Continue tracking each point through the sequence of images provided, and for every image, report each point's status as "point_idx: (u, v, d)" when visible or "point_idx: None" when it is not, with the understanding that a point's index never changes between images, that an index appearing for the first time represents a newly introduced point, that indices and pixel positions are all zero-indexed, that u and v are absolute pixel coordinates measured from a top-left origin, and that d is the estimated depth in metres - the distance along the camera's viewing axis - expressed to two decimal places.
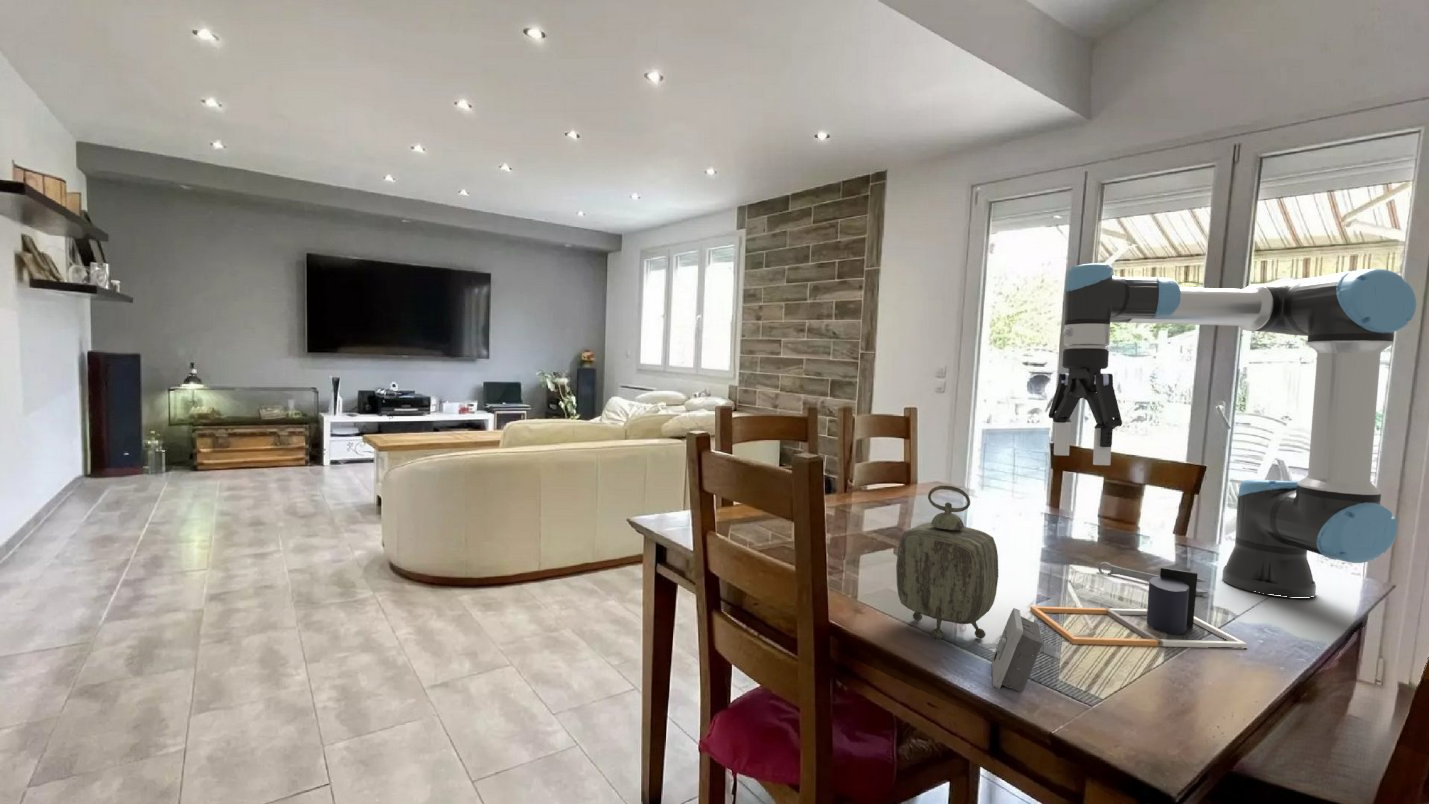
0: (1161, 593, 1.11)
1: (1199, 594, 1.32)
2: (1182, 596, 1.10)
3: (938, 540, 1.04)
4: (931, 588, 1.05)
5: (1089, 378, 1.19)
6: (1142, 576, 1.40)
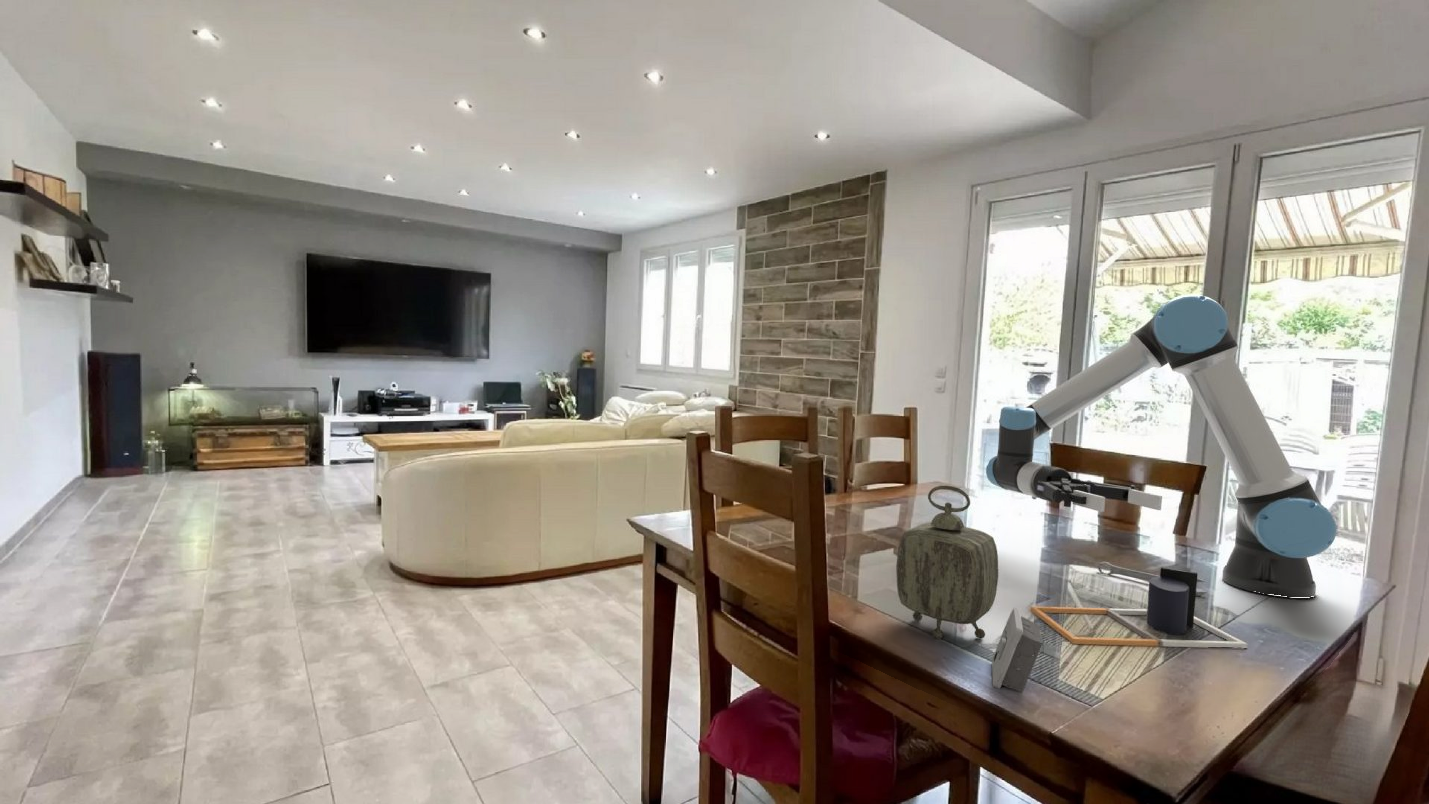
0: (1161, 593, 1.11)
1: (1198, 594, 1.32)
2: (1182, 596, 1.10)
3: (938, 540, 1.04)
4: (931, 588, 1.05)
5: None
6: (1142, 576, 1.39)
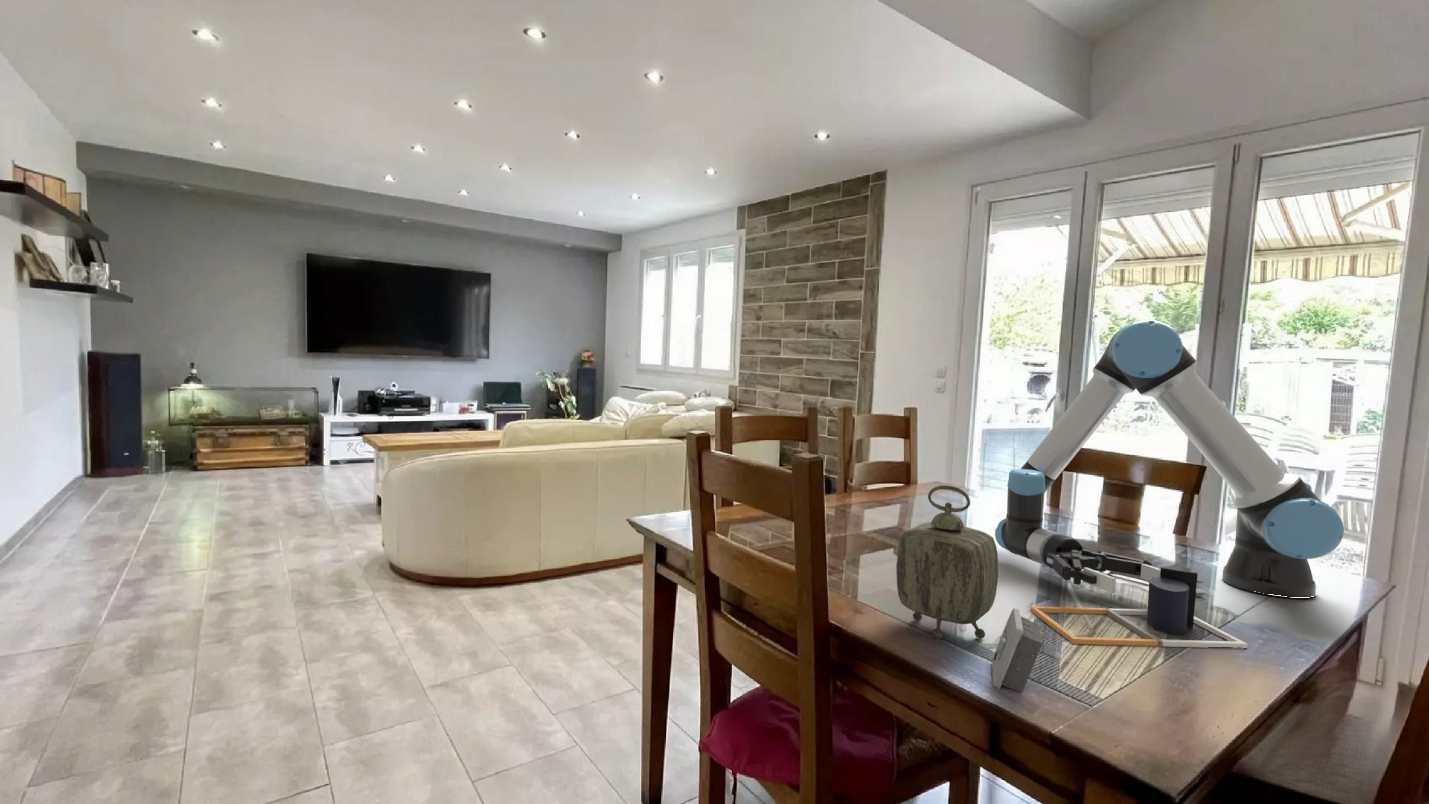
0: (1161, 593, 1.11)
1: (1197, 595, 1.31)
2: (1182, 596, 1.10)
3: (938, 540, 1.04)
4: (931, 588, 1.05)
5: None
6: None
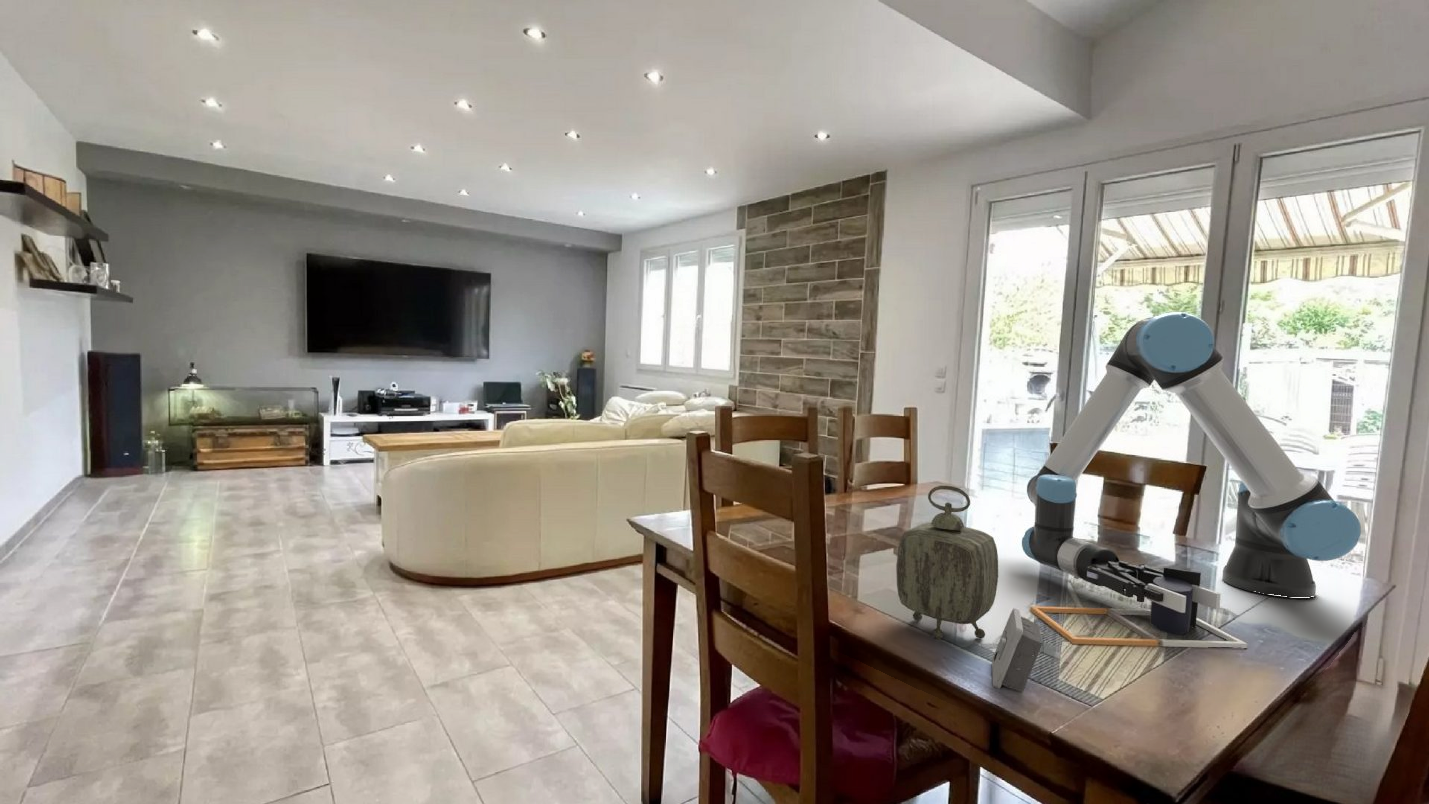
0: None
1: None
2: (1186, 596, 1.10)
3: (938, 540, 1.04)
4: (931, 588, 1.05)
5: None
6: None
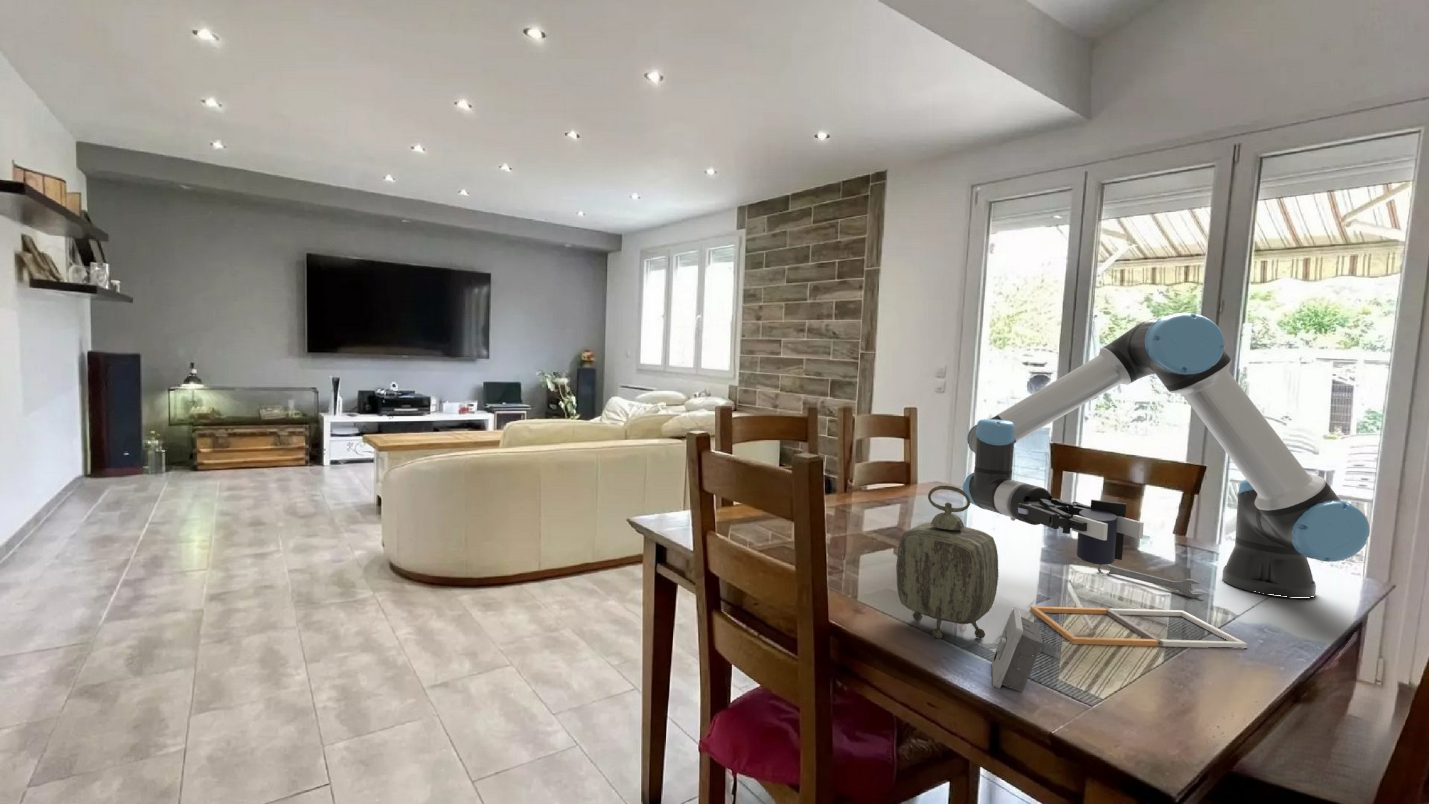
0: None
1: (1194, 596, 1.30)
2: (1110, 525, 1.10)
3: (938, 540, 1.04)
4: (931, 588, 1.05)
5: None
6: (1140, 577, 1.39)
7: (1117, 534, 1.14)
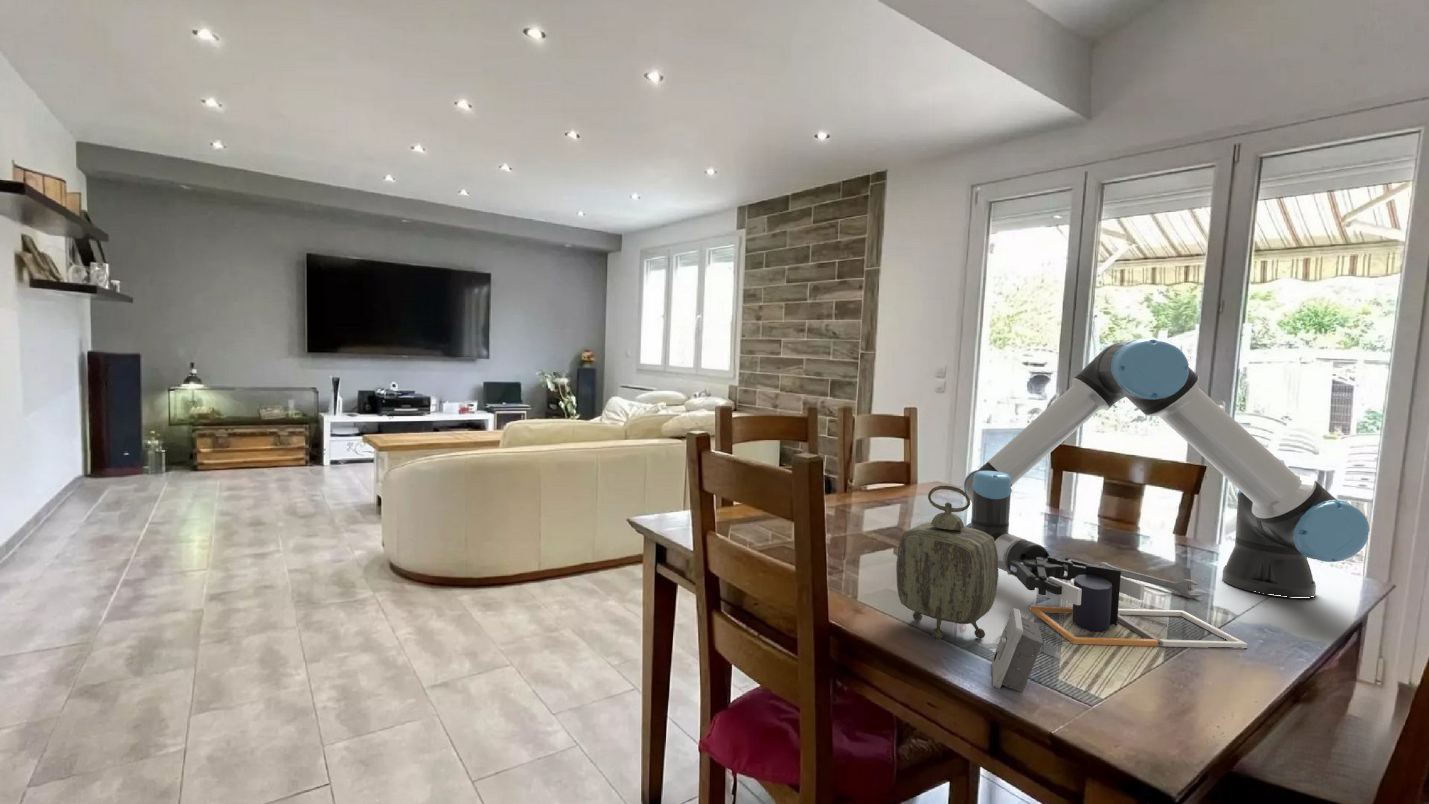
0: (1085, 591, 1.11)
1: (1192, 597, 1.30)
2: (1105, 594, 1.10)
3: (938, 540, 1.04)
4: (931, 588, 1.05)
5: None
6: (1139, 577, 1.39)
7: (1112, 600, 1.14)
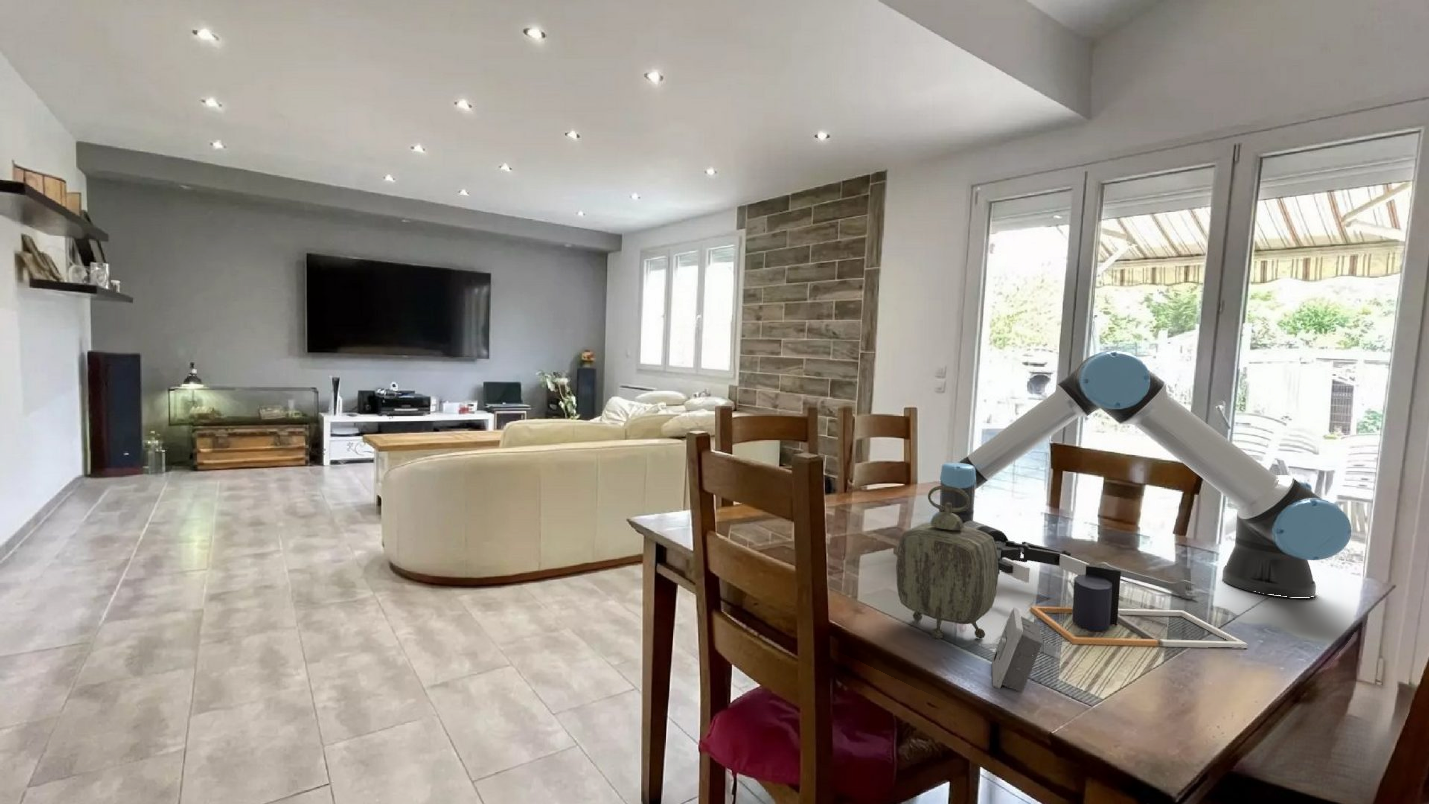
0: (1085, 591, 1.11)
1: (1189, 598, 1.30)
2: (1105, 594, 1.10)
3: (938, 540, 1.04)
4: (931, 588, 1.05)
5: None
6: (1137, 577, 1.38)
7: (1112, 600, 1.14)
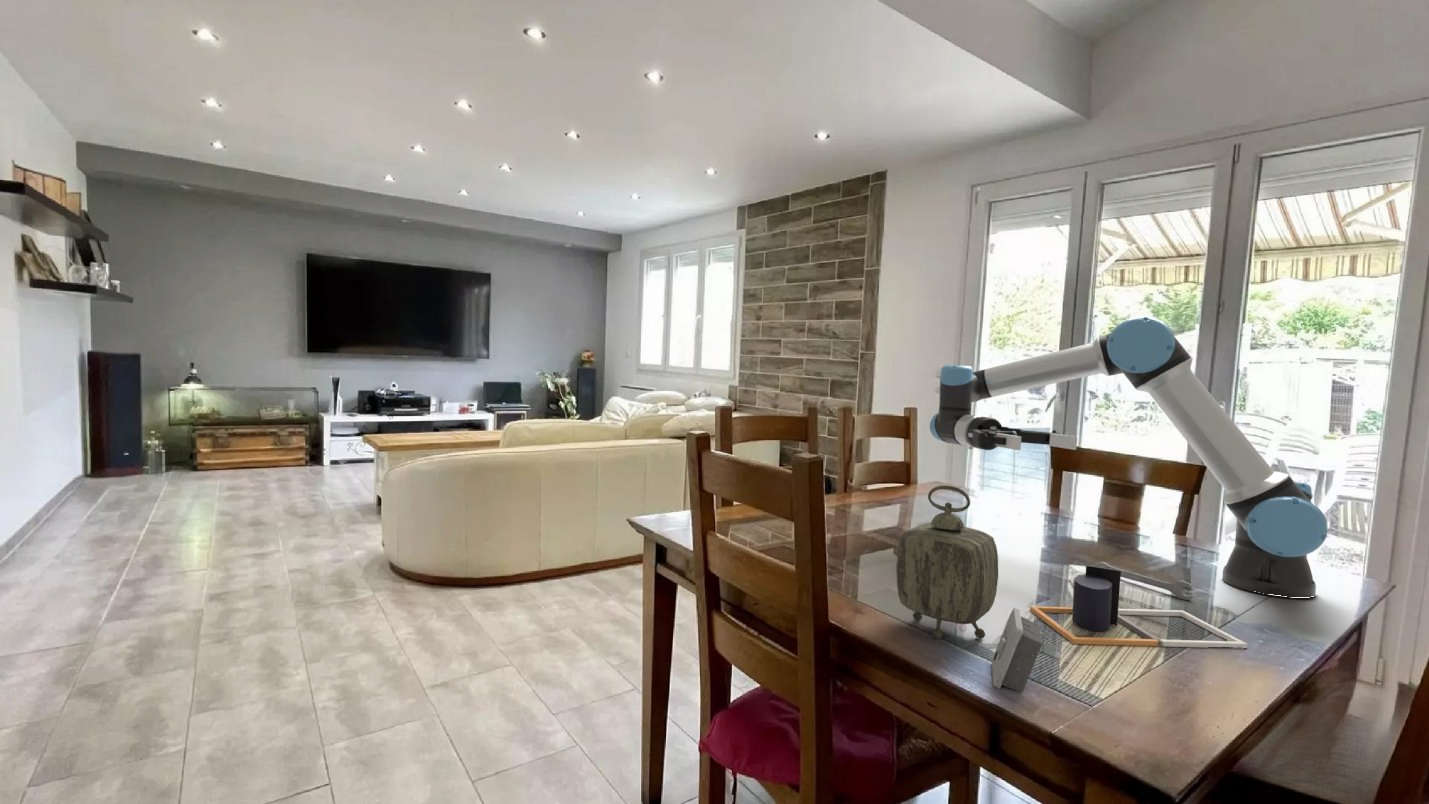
0: (1085, 591, 1.11)
1: (1186, 598, 1.29)
2: (1105, 594, 1.10)
3: (938, 540, 1.04)
4: (931, 588, 1.05)
5: None
6: (1136, 578, 1.38)
7: (1112, 600, 1.14)
